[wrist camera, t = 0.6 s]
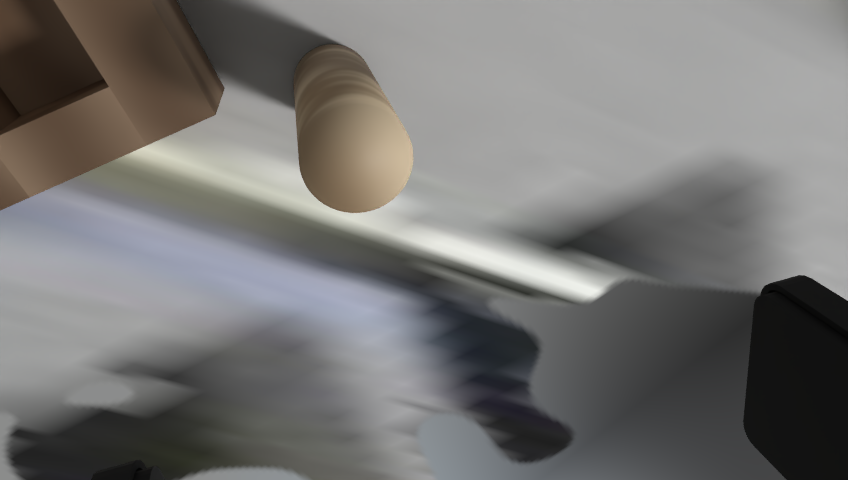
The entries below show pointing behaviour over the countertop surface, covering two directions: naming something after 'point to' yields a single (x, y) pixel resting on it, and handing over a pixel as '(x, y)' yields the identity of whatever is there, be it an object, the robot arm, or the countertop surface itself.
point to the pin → (348, 132)
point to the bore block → (93, 86)
